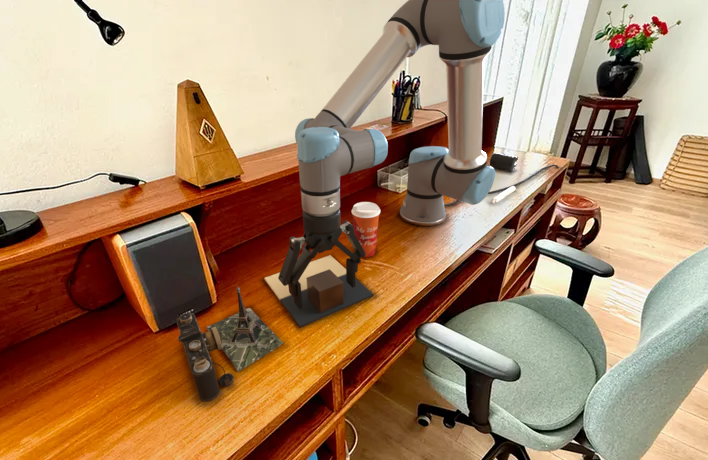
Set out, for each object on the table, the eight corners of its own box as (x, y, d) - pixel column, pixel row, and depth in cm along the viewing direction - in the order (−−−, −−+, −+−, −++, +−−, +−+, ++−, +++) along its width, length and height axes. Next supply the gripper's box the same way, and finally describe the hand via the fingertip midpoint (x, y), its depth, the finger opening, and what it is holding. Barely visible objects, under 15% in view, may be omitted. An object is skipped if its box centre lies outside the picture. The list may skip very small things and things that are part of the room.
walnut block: (330, 289, 86) (329, 269, 83) (343, 303, 82) (343, 282, 79) (307, 298, 83) (306, 277, 80) (320, 313, 79) (319, 291, 76)
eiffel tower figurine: (205, 329, 76) (191, 277, 69) (249, 307, 82) (240, 257, 75) (238, 373, 66) (225, 317, 59) (286, 344, 72) (279, 291, 65)
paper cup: (355, 261, 98) (355, 214, 91) (348, 247, 104) (348, 202, 98) (383, 257, 100) (385, 211, 93) (374, 243, 106) (375, 199, 100)
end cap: (488, 169, 164) (490, 154, 160) (494, 165, 168) (497, 151, 165) (509, 174, 158) (513, 159, 155) (516, 170, 162) (519, 155, 159)
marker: (494, 205, 129) (495, 199, 128) (488, 204, 131) (490, 198, 129) (515, 191, 141) (516, 186, 140) (510, 190, 142) (511, 184, 141)
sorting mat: (330, 256, 100) (330, 254, 100) (373, 295, 85) (373, 293, 85) (264, 279, 91) (264, 277, 90) (299, 327, 76) (299, 325, 76)
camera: (238, 387, 63) (231, 355, 59) (198, 406, 60) (188, 373, 56) (214, 330, 75) (207, 300, 71) (180, 343, 72) (170, 312, 68)
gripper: (268, 233, 63) (280, 325, 73) (383, 201, 75) (379, 284, 85) (253, 217, 68) (267, 305, 78) (362, 189, 80) (361, 268, 90)
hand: (325, 294), depth 82 cm, fingers open, 13 cm apart
